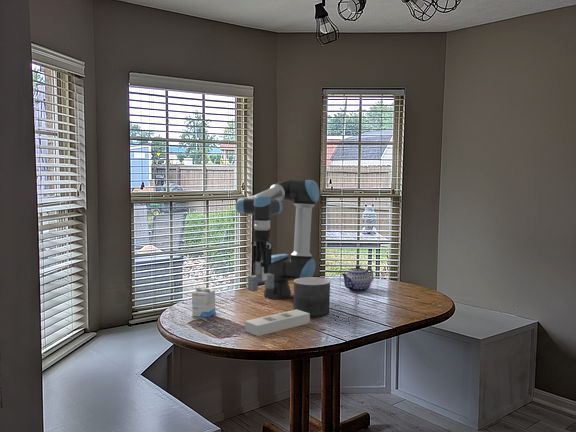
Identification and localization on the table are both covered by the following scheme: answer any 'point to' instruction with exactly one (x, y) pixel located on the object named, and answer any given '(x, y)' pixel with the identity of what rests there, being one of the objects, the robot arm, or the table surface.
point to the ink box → (203, 302)
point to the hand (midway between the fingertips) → (261, 279)
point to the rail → (277, 322)
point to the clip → (260, 278)
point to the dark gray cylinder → (312, 296)
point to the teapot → (358, 279)
